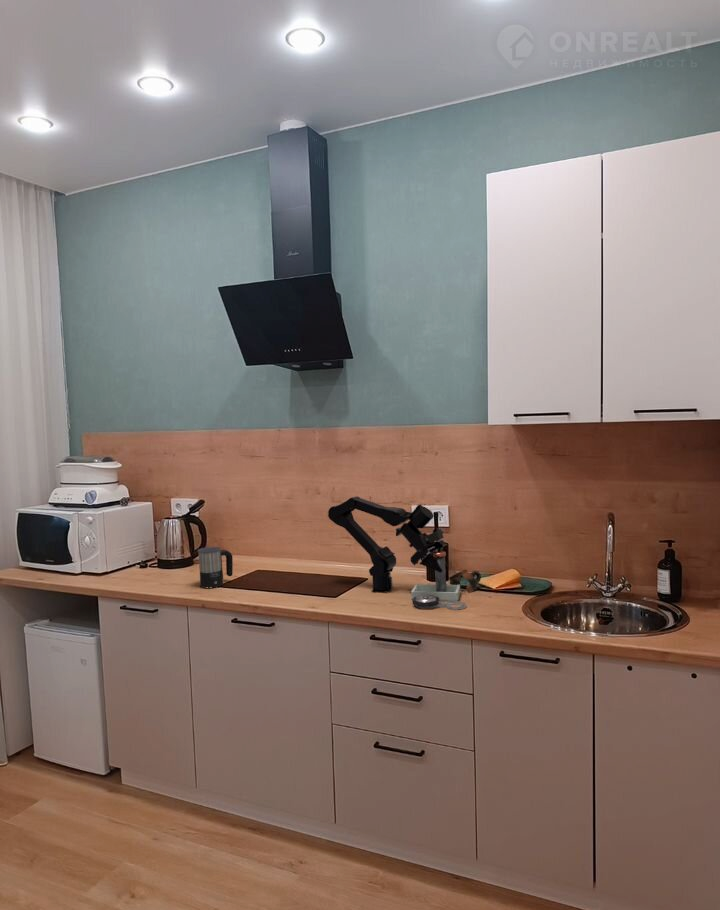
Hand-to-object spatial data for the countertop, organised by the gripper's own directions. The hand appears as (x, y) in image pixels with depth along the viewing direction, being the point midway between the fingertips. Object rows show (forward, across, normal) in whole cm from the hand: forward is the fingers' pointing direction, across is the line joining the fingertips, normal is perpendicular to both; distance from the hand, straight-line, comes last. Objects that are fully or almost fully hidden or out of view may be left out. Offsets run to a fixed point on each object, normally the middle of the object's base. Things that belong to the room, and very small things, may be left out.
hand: (444, 570), depth 233 cm
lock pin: (+5, 0, +7) cm, 9 cm away
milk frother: (-60, -17, +74) cm, 97 cm away
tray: (+5, -1, +9) cm, 10 cm away
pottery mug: (+9, +13, +5) cm, 17 cm away
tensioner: (+9, -10, +5) cm, 14 cm away
